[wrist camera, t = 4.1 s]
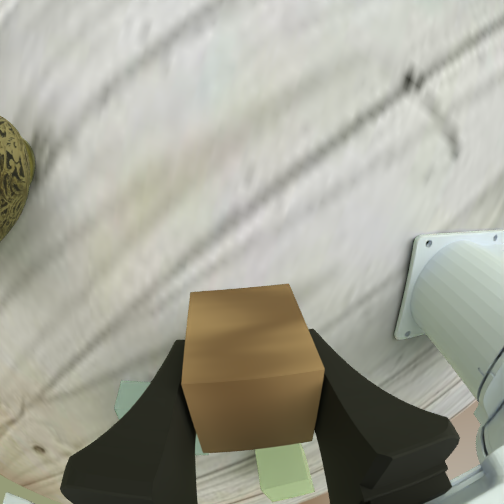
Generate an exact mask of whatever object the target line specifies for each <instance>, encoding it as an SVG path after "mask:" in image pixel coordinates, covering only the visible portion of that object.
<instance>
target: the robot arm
mask: <svg viewBox="0 0 504 504" xmlns="http://www.w3.org/2000/svg"><path fill="white" fill-rule="evenodd" d="M428 240H429V242H428V244H427V245H426V242H427V241H428ZM308 330H309V332H310V335H311V337H312V339H313V342H314V344H315V347H316V349H317V352H318V354H319V356H320V359H321V361H322V364H323V366H324V368H325V371H324V377H323V384H322V390H321V396H320V402H319V407H318V413H317V419H316V424H315V429H314V430H315V433H316V436H317V440H318V444H319V448H320V453H321V457H322V462H323V467H324V471H325V476H326V482H327V487H328V493H329V499H330V504H504V231H503V230H487V231H471V232H456V233H441V234H426V235H419V236H418V237H416V239H415V241H414V245H413V251H412V257H411V262H410V267H409V273H408V278H407V283H406V287H405V292H404V296H403V301H402V305H401V309H400V313H399V318H398V321H397V325H396V329H395V333H394V336H395V338H396V339H397V340H403V339H407V338H411V337H416V336H420V335H424V334H426V335H427V336H428V338H429V339H430V340H431V341H432V342H433V344H434V345H435V346H436V347H437V349H438V350H439V351H440V352H441V354H442V355H443V356H444V357H445V359H446V360H447V361H448V363H449V364H450V365H451V366H452V368H453V369H454V370H455V372H456V373H457V374H458V375H459V377H460V378H461V379H462V381H463V382H464V383H465V385H466V386H467V387H468V389H469V390H470V391H471V393H472V394H473V395H474V397H475V398H476V400H477V401H478V402H479V404H478V407H477V408H476V410H475V412H474V415H475V417H476V418H477V419H478V421H479V422H480V424H481V426H480V428H479V430H478V433H477V436H476V451H477V456H478V459H479V462H480V465H478V466H476V467H474V468H473V469H471V470H469V471H467V472H465V473H464V474H462V475H460V476H458V477H456V478H454V479H452V480H450V481H449V479H448V477H447V475H446V473H445V471H447V469H448V467H447V465H446V463H445V460H446V459H447V458H448V457H449V455H450V454H451V453H452V451H453V450H454V449H455V448H456V446H457V445H458V442H459V439H460V437H459V435H458V433H457V432H456V430H455V428H454V426H453V425H452V423H451V422H450V420H449V419H448V418H447V417H444V416H441V415H437V414H434V413H431V412H428V411H425V410H422V409H420V408H418V407H415V406H413V405H410V404H408V403H406V402H404V401H402V400H400V399H398V398H396V397H394V396H393V395H391V394H389V393H387V392H385V391H384V390H382V389H380V388H379V387H377V386H376V385H375V384H373V383H372V382H370V381H369V380H367V379H366V378H365V377H363V376H362V375H361V374H360V373H358V372H357V371H356V370H355V369H353V368H352V367H351V366H350V365H349V364H348V363H347V362H346V361H345V360H343V359H342V358H341V357H340V356H339V355H338V354H337V353H336V352H335V351H334V350H333V349H332V348H331V347H330V346H329V345H328V344H327V343H326V342H325V341H324V340H323V339H322V337H321V336H320V335H319V334H318V333H317V332H316V331H315V330H314V329H308ZM184 348H185V340H176V341H175V342H174V344H173V346H172V348H171V350H170V352H169V354H168V356H167V358H166V359H165V361H164V363H163V364H162V366H161V368H160V369H159V371H158V372H157V374H156V376H155V377H154V379H153V380H152V382H151V383H150V384H149V386H148V387H147V388H146V390H145V391H144V393H143V394H142V395H141V397H140V398H139V399H138V400H137V401H136V403H135V404H134V405H133V406H132V407H131V408H130V410H129V411H128V412H127V413H126V414H125V415H124V416H123V417H122V418H121V419H120V420H119V421H118V422H117V423H116V424H115V425H114V426H112V427H111V428H110V429H109V430H108V431H107V432H105V433H104V434H103V435H102V436H100V437H99V438H98V439H97V440H95V441H94V442H93V443H91V444H90V445H88V446H87V447H85V448H84V449H82V450H80V451H79V452H77V453H76V454H74V455H72V456H71V457H70V458H69V460H68V463H67V465H66V468H65V471H64V475H63V479H62V483H61V487H60V490H61V492H62V494H63V495H64V496H65V497H66V498H67V499H68V500H69V501H71V502H72V503H73V504H198V503H197V489H196V470H195V442H196V430H195V427H194V424H193V421H192V418H191V415H190V412H189V408H188V405H187V402H186V398H185V395H184V392H183V388H182V385H181V382H182V370H183V359H184ZM3 504H34V503H32V502H30V501H28V500H26V499H23V498H21V497H18V496H15V495H13V494H11V493H6V494H5V498H4V501H3Z"/></svg>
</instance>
